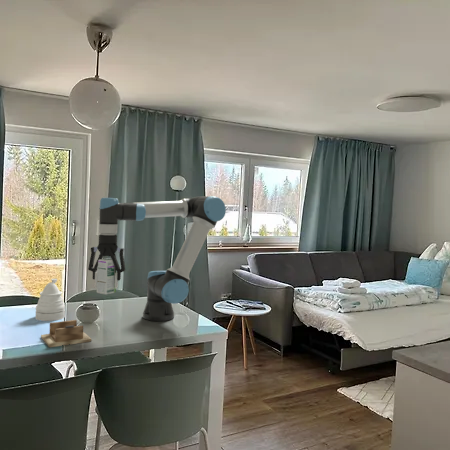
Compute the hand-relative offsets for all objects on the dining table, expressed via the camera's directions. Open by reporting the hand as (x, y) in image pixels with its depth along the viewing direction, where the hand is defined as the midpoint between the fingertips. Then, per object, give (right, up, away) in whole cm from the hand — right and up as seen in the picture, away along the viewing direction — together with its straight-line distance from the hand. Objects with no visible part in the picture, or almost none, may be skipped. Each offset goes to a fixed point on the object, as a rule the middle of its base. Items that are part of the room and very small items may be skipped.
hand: (106, 287), depth 185 cm
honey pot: (-32, -17, +20) cm, 42 cm away
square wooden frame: (-13, -19, -11) cm, 26 cm away
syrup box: (0, -2, 0) cm, 2 cm away
